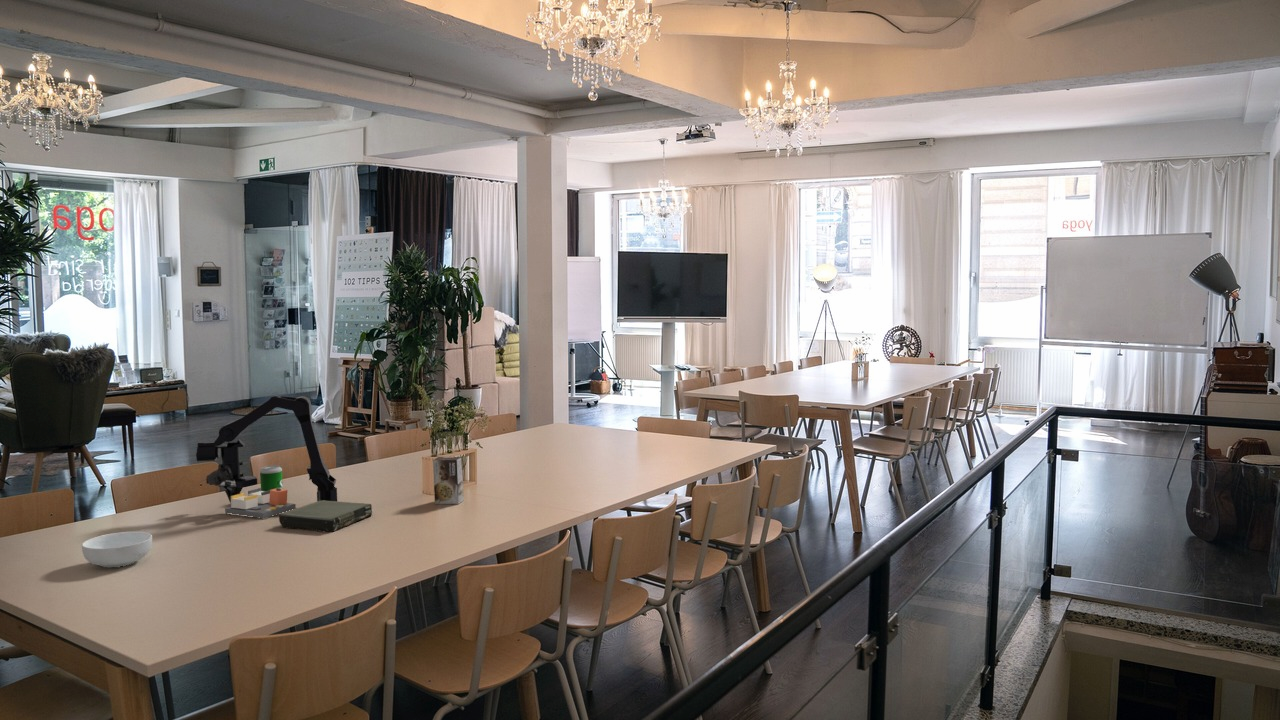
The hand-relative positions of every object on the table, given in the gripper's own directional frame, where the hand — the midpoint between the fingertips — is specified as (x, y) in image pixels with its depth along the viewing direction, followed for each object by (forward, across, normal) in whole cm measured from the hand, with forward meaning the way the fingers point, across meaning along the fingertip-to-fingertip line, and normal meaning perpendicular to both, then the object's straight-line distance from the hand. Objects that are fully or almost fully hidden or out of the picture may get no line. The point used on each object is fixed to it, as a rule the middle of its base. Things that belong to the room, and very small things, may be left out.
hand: (233, 504), depth 303 cm
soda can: (+3, -3, +20) cm, 20 cm away
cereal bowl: (+3, +20, -55) cm, 59 cm away
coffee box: (+3, +62, +40) cm, 74 cm away
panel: (+3, +9, +4) cm, 10 cm away
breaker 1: (0, +6, 0) cm, 6 cm away
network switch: (+4, +41, +2) cm, 41 cm away
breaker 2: (0, +5, +8) cm, 9 cm away
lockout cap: (0, +13, +8) cm, 15 cm away
